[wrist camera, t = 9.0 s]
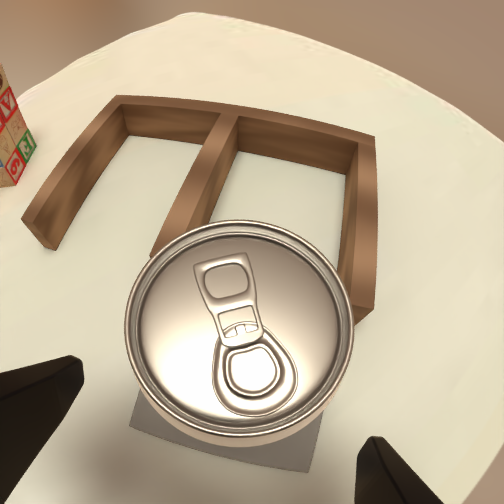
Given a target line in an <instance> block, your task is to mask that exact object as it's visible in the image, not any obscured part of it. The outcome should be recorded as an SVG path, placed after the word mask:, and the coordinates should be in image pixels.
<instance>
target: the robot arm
mask: <svg viewBox="0 0 504 504" xmlns="http://www.w3.org/2000/svg"><path fill="white" fill-rule="evenodd" d="M83 384H84V372H83V363H82V361H81V360H80V359H79V358H77V357H75V356H72V355H68V356H65V357H61V358H57V359H53V360H50V361H46V362H42V363H38V364H34V365H30V366H27V367H23V368H19V369H15V370H10V371H6V372H2V373H0V504H4V503H5V502H6V500H7V498H8V497H9V495H10V494H11V492H12V491H13V489H14V488H15V487H16V485H17V484H18V482H19V481H20V479H21V478H22V476H23V475H24V473H25V472H26V470H27V469H28V468H29V466H30V465H31V463H32V462H33V460H34V459H35V458H36V456H37V455H38V453H39V452H40V451H41V449H42V448H43V446H44V445H45V444H46V442H47V441H48V439H49V438H50V437H51V435H52V434H53V433H54V431H55V430H56V429H57V427H58V426H59V424H60V423H61V422H62V420H63V419H64V417H65V416H66V414H67V412H68V410H69V409H70V407H71V405H72V403H73V402H74V400H75V398H76V396H77V395H78V393H79V391H80V390H81V388H82V386H83ZM354 502H355V504H444V503H443V502H442V501H441V500H440V499H439V498H438V497H437V496H436V495H435V494H434V493H433V491H432V490H431V489H430V488H429V487H428V486H427V485H426V484H425V483H424V482H423V481H422V480H421V478H420V477H419V476H418V475H417V474H416V473H415V472H414V471H413V470H412V469H411V467H410V466H409V465H408V464H407V463H406V462H405V461H404V460H403V459H402V458H401V456H400V455H399V454H398V453H397V452H396V451H395V450H394V449H393V448H392V446H391V445H390V444H389V443H388V442H387V441H386V440H385V439H384V438H383V437H378V436H371V437H369V438H368V439H367V441H366V442H365V444H364V445H363V447H362V448H361V450H360V451H359V453H358V456H357V467H356V483H355V498H354Z"/></svg>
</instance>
